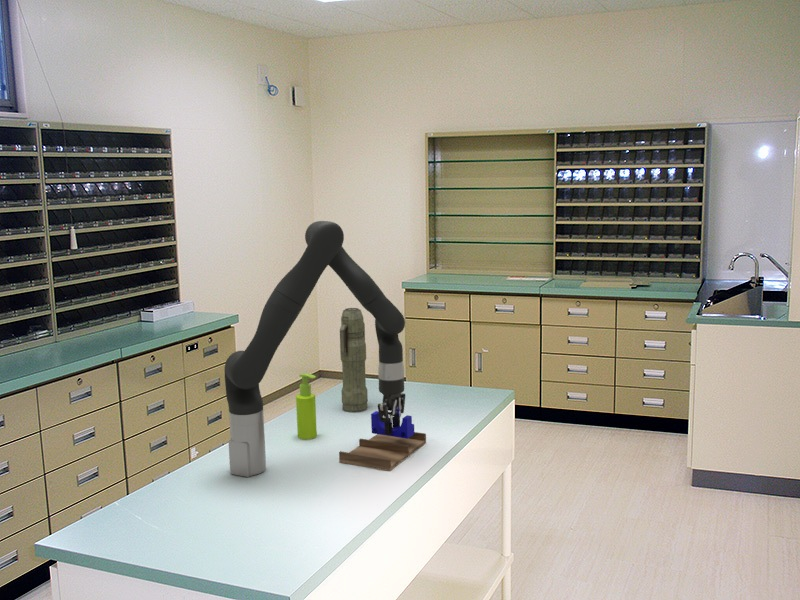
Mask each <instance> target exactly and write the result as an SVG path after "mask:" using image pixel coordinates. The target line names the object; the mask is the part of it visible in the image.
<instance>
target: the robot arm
mask: <svg viewBox="0 0 800 600" xmlns="http://www.w3.org/2000/svg"><path fill="white" fill-rule="evenodd" d="M304 238H305V239H304V240H305V243H306V245H307V246H306V248H305V250H304V252H303V254H302V255H301V257H300V258H299V260H298V261H297V263H296V264H295V265H294V266H293V267H292V269H290V270H289V271H288V272H286V274H285V275H284V277H283V276H282V277H283V278H281V279H280V280H279V282H277V285H276V286H275V287H274V289H273V291H272V292H271V294H270V295H269V297H268V298H267V301H265V302H266V303H265V304H264V307H263V309H262V312H261V314H260V318H259V320H258V325H257V328H256V331H255V333H254V336H253V338H252V339H251V341H250V342H249V344H248V345H247V347H246V348H245V350H237V351H234V352H232V353H231V354H230V355H229V356H228V357H227V358H226V360H225V364H224V384H225V395H226V401H227V404H228V417H229V433H230V434H229V436H230V439H229V440H228V458H229V459H228V460H229V472H230V473H229V474H230V475H236V476H241V477H245V478H249V477H251V476H255V475H256V476H257V475H260V474H261V473H264V472H265V471H266V470H267V460H266V458H267V457H266V455H267V454H266V441H265V440H266V438H265V437H266V436H265V435H266V434H265V419H264V418H265V415H264V399H263V397H262V395H261V390H260V383H261V382H262V380H263V379H264V377H265V375H266V373H267V370H268V368H269V367H270V364H271V362H272V360H273V357H274V355H275V353H276V351H277V350H278V348H279V346H280V345H281V343H282V341H284V339H285V337H286V336H287V334H288V333H289V331H290V329H291V327H292V325H293V324H294V322H295V321H296V320H297V318H298V316H299V315H300V313H301V311H302V310H303V308H304V307H305V304H306V302H307V301H308V299H309V298H310V296H311V294H312V292H313V290H314V289H315V287H316V285H317V283H318V281H319V280H320V278H321V276H322V274H323V273H324V271H325V270H326V268H327V267H328V266H329V267H330V268H331V269H332V270H333V272H335V274H336V275H337V276H338V277H339V279H341V281H342V282H343V284H344V285H345V287H347V288H348V290H349V291H350V292H351V294H352V295H353V296H354V297H355V299H356V300H357V301H358V302H359V304H360V305H361V306H362V307H363V308H364V309H365V310H366V311H367V312H369V313H370V314H371V315H372V316H373V318H374V328H375V333H376V338H377V344H378V370H377V371H378V392H379V393H380V394H382V403H378V404H377V410H378V411H379V417H380V422H384V423H385V434H386V435H391V434H392V428H395V427H399V426H401V417H402V414H404V412H405V404H406V403H405V402H406V393H404V391H405V368H404V357H403V355H404V354H403V353H404V352H403V349H404V348H403V344H402V343H401V341H400V338H399V334H400V333H402V332H403V331H404V328H405V327H406V320H405V317H404V315H403V313H402V311H400V310H399V309H398V307H396V306H395V304H394V303H393V302H392V301H391V300H390V299H389V298H387V296H386V295H385V294H384V292H383V291H382V289H381V288H380V287H379V286H378V284H377V283H376V282H375V281H374V279H373V278H372V277H371V276H370V274H368V273H367V271H365V270H364V269H363V268H362V267H361V266H360V265H359V264H358V263H357V262H356V261H355V260H354V259H353V258H352V257H351V255H349V254H348V253H347V251H346V249H345V248H344V247H343V244H344V240H345V239H344V238H345V235H344V231H343V228H342V227H341V226H340V225H339V224H338V223H336V222H333V221H330V220H329V221H328V220H327V221H326V220H318V221H314V222H312V223H311V224H310V225H308V226H307V228H306V231H305V234H304Z"/></svg>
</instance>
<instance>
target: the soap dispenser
mask: <svg viewBox="0 0 800 600" xmlns="http://www.w3.org/2000/svg"><path fill="white" fill-rule="evenodd" d="M299 377H300V378H301V383H300V384H299V394H297V395H296V396H295V402H296V403H295V405H296V425H297V426H296V427H297V428H296V429H297V438H298V439H300V440H307V441H308V440H314V439H315V438H317V437H318V436H317V435H318V432H317V431H318V430H317V429H318V428H317V411H316V409H317V406H316V394H314V393H312V387H311V386H312V385H311V383H309V379H310V380H312V379H313V380H314V379H316V378H317V376H316V375H314V374H311V373H307V372H306V373H300V374H299Z"/></svg>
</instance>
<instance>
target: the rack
mask: <svg viewBox="0 0 800 600" xmlns="http://www.w3.org/2000/svg"><path fill="white" fill-rule="evenodd" d="M425 444H427V433H426V432H425V433H424V432H418V431H414V435H412V436H411V437H409V438H408V439H406V438H400V437H393V436H387V435H380V434H375V435H374V436H372V437H371V438H369V439H366V438H365V439H364V438H359V439H358V446H356V447H355V448H354V449H352V450H350V451H348V452H347V451H341V450H340V451H339V452H338V459H339V461H338V462H339V463H342V464H347V465H348V464H349V465H354V466H358V467H363V468H364V467H366V468H370V469H377V470H382V471H387V472H388V471H389V472H391V471H392V470H393V469H394V468H396V467H397V466H398V465H400V464H401V463H402V462H403V461H405V460H406V459H407V458H409V457H410V456H412V455H413V454H414V453H415V452H416V451H418V450H419V449H420V448H422V447H423V446H424V445H425Z"/></svg>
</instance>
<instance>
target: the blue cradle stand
mask: <svg viewBox="0 0 800 600" xmlns="http://www.w3.org/2000/svg"><path fill="white" fill-rule="evenodd" d="M412 418H413V415H406V416H404V417H402V421H401V423H400V426H399V427H395V428H393V427H392V434H391V435H387V436H393V437H400V438H406V439H408V438H409V437H411V436H412V435H414V432H415V423H413V420H412ZM370 420H371V421H370V424H371V427H370V428H371V434H375V435H377V434H380V435H386V434H385V423H384V422H380V417H379V411H377V410H375V411H374V412H372V413H371V414H370Z"/></svg>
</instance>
